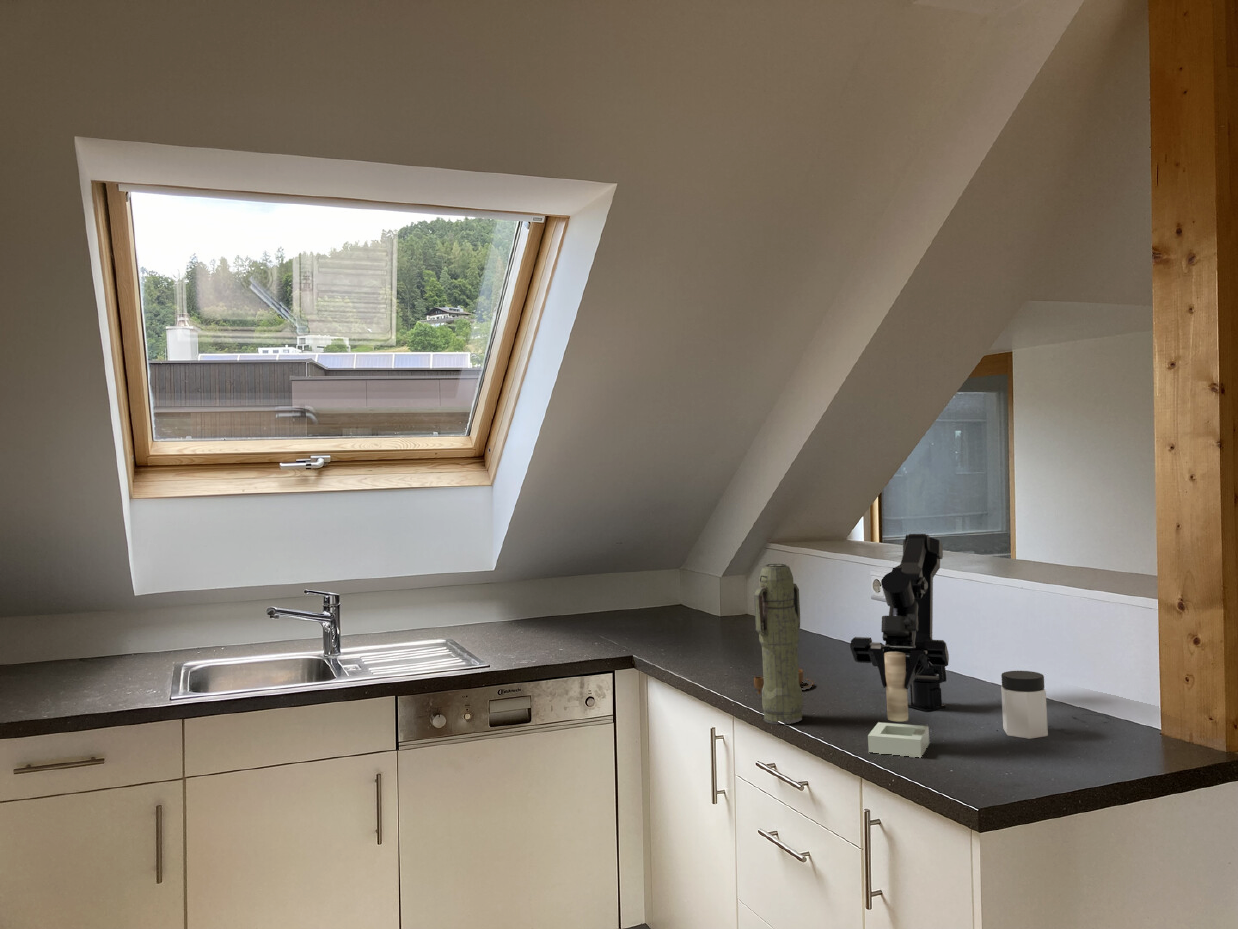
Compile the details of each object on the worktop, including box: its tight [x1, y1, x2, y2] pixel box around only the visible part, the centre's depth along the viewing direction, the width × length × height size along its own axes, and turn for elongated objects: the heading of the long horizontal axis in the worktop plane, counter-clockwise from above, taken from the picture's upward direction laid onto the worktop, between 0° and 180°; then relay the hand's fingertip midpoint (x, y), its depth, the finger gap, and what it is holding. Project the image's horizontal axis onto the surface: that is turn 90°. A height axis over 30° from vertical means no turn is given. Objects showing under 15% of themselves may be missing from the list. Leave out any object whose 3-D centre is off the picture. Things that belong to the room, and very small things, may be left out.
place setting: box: [753, 668, 814, 694], centre depth 245 cm, size 18×20×6 cm
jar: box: [1000, 670, 1049, 740], centre depth 197 cm, size 9×8×12 cm
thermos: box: [753, 563, 804, 726], centre depth 216 cm, size 9×12×35 cm
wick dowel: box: [884, 652, 909, 723], centre depth 190 cm, size 4×4×13 cm
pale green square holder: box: [867, 721, 930, 759], centre depth 190 cm, size 10×10×4 cm
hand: (895, 687), depth 189 cm, fingers closed on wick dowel, 4 cm apart
